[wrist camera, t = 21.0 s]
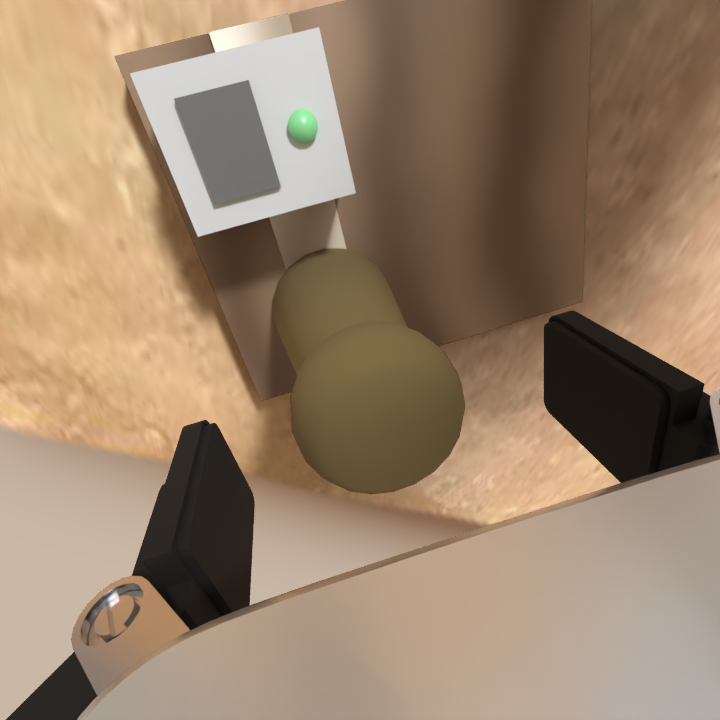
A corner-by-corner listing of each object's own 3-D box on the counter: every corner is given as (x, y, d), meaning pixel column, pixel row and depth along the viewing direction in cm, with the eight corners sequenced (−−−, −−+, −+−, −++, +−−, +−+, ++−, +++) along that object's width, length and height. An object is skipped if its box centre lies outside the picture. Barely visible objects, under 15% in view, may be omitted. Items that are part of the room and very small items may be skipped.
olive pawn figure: (414, 307, 21) (536, 430, 12) (332, 383, 22) (381, 555, 13) (335, 219, 19) (407, 285, 9) (245, 311, 20) (223, 458, 10)
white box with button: (310, 49, 15) (319, 25, 13) (342, 188, 18) (357, 193, 15) (153, 88, 15) (127, 72, 12) (208, 225, 17) (197, 237, 15)
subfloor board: (569, -43, 17) (596, -61, 16) (565, 294, 25) (583, 302, 23) (127, 64, 16) (113, 55, 15) (261, 387, 23) (260, 402, 22)
